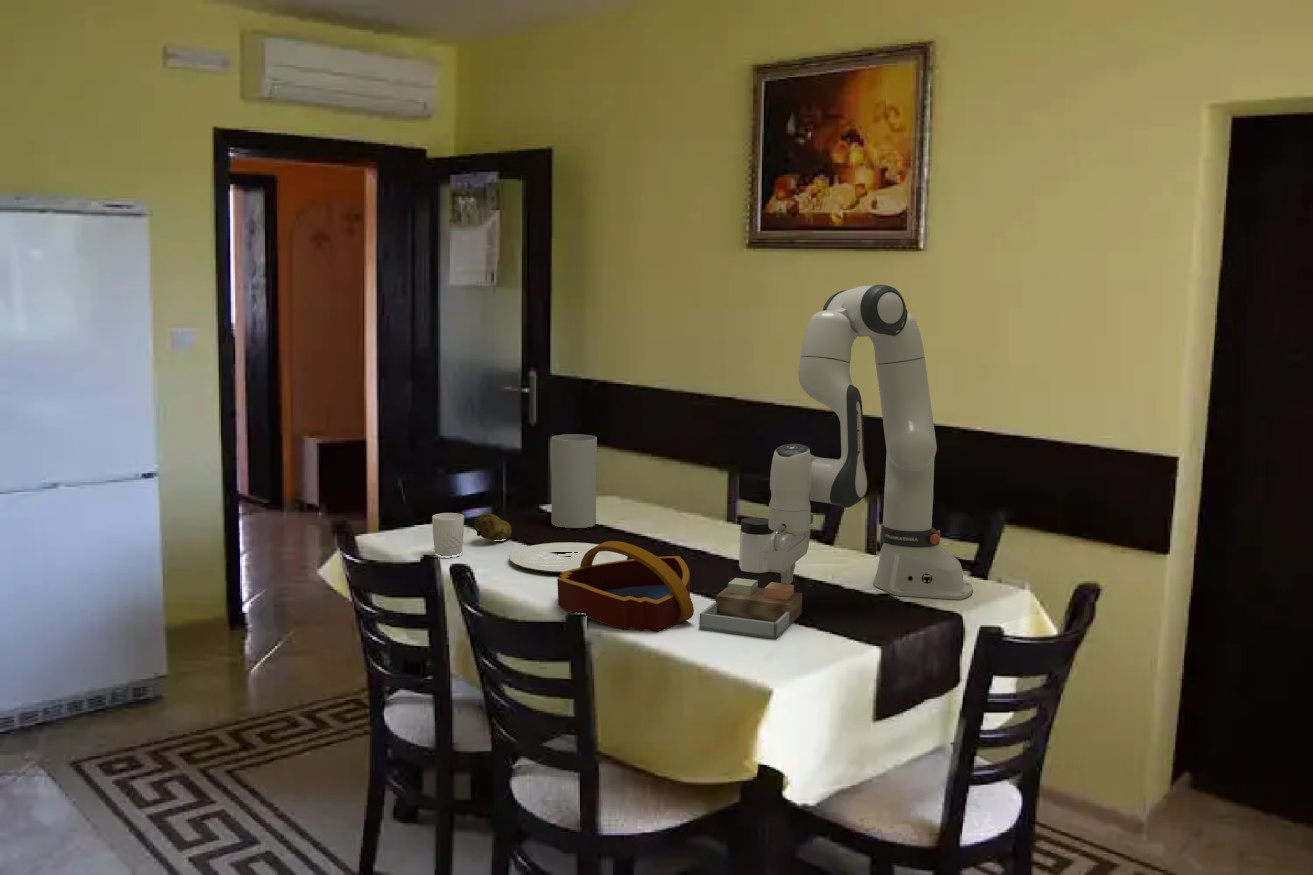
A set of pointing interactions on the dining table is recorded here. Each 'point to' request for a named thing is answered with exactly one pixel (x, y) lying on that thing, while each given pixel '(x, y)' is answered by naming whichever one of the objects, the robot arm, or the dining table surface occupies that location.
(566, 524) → the cylinder vase
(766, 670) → the dining table surface
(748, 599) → the walnut block
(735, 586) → the sage tile
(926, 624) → the dining table surface
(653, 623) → the decorative basket
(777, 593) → the terracotta tile
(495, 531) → the potato
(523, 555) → the plate
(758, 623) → the tray
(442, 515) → the white cup
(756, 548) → the jar
